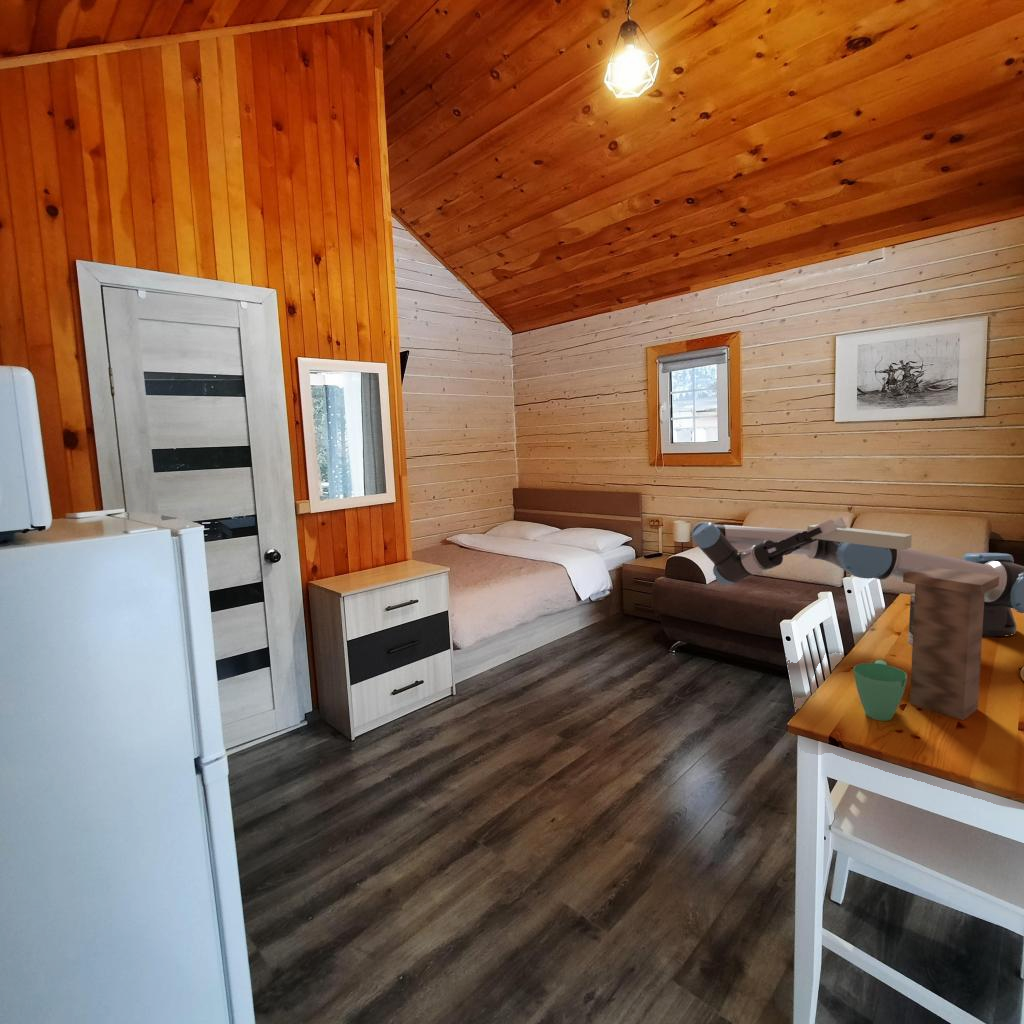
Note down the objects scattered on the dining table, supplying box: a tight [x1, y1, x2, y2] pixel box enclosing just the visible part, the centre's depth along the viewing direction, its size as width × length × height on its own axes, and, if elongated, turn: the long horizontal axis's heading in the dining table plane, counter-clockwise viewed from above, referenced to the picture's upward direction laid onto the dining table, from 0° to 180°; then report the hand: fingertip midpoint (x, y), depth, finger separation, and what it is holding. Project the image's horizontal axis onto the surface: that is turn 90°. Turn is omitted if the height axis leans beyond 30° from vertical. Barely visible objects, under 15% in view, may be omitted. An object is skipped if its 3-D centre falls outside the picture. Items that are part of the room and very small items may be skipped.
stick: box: [806, 524, 913, 550], centre depth 140 cm, size 22×4×3 cm, turn 34°
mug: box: [853, 659, 909, 722], centre depth 127 cm, size 15×10×10 cm
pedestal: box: [902, 566, 999, 721], centre depth 126 cm, size 14×10×30 cm
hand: (838, 523), depth 143 cm, fingers closed on stick, 4 cm apart
